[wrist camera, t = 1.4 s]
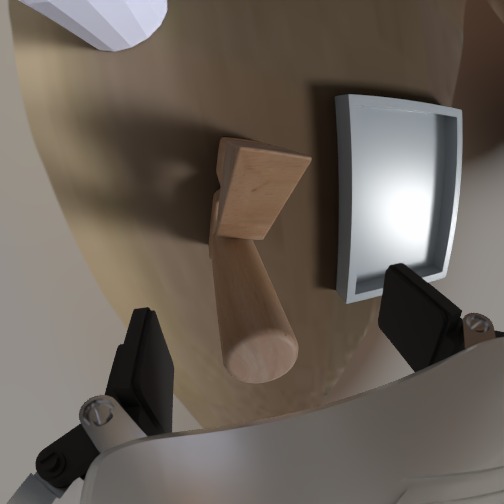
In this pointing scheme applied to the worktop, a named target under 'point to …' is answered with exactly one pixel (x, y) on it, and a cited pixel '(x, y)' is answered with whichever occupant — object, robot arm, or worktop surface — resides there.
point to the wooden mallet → (251, 257)
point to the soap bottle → (105, 19)
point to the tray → (395, 190)
